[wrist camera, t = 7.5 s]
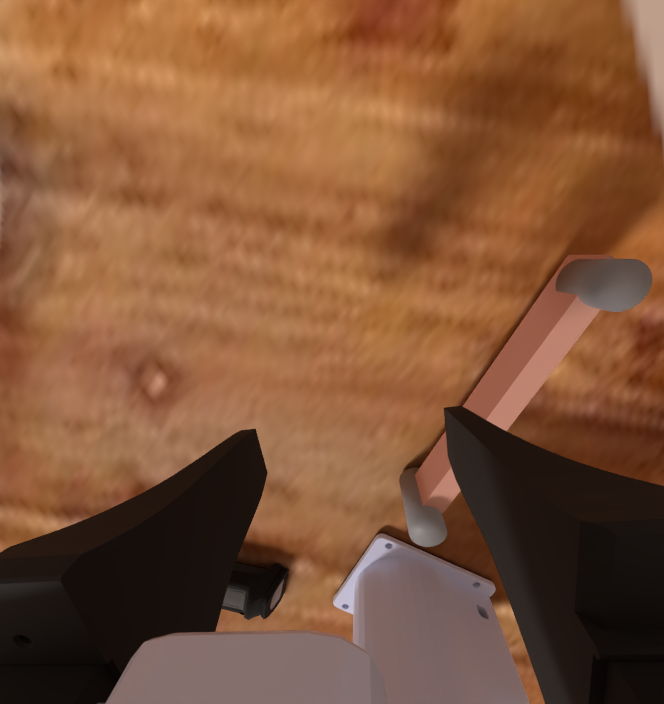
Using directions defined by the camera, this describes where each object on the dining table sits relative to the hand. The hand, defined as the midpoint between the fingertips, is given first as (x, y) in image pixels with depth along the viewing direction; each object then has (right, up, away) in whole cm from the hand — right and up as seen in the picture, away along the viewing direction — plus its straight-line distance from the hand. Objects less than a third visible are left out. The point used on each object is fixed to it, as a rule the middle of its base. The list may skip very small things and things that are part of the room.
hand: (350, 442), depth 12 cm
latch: (+8, +1, +6) cm, 10 cm away
